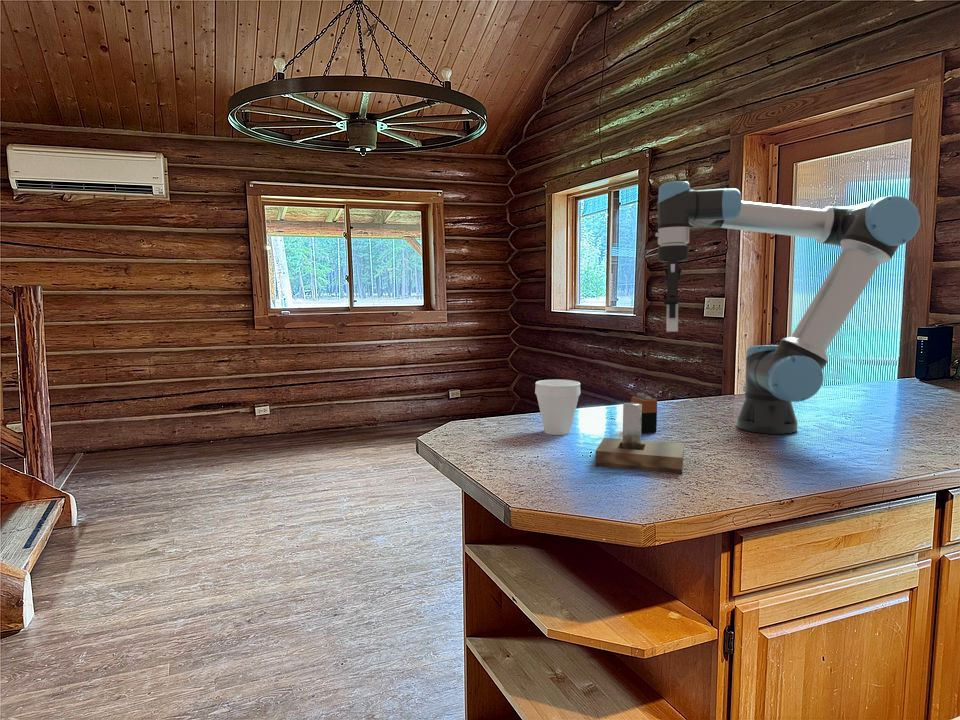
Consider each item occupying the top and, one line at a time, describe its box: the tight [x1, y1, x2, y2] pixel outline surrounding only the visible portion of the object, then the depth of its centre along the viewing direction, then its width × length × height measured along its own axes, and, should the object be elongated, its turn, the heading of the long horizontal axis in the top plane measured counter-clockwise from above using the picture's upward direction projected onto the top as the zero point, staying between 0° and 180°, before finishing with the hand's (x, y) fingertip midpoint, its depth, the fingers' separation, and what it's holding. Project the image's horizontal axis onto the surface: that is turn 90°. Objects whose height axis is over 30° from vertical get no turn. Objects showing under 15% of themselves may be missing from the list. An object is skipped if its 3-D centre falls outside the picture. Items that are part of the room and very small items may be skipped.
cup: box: [534, 379, 581, 436], centre depth 165 cm, size 12×12×14 cm
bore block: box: [594, 437, 685, 475], centre depth 136 cm, size 18×13×4 cm
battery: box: [630, 392, 658, 434], centre depth 166 cm, size 4×7×10 cm, turn 17°
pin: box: [622, 402, 642, 450], centre depth 136 cm, size 4×4×12 cm
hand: (672, 329), depth 156 cm, fingers open, 13 cm apart
